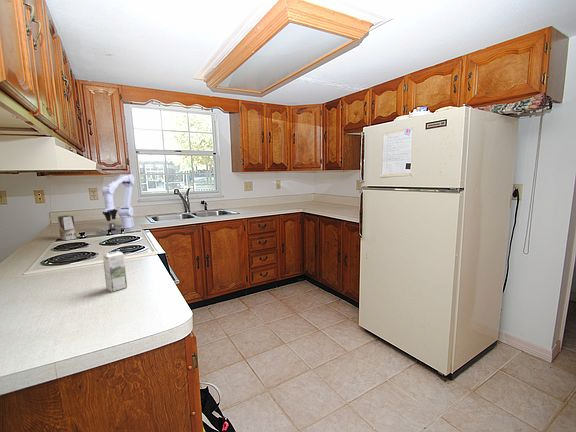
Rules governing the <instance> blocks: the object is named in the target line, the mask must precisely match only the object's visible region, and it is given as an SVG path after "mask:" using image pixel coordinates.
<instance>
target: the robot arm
mask: <svg viewBox="0 0 576 432" xmlns="http://www.w3.org/2000/svg"><path fill="white" fill-rule="evenodd" d="M120 184H122V185H123V186H125V188H124V195H123V203H122V204H121V206H120V207H119V209H117V207H116V206H115V203H114V202H115V201H114V194H115V191H116V189H118V188H119V187H120V186H119V185H120ZM134 184H135V177H134V175H133V174H132V173H131V174H119V175H118V177H117V179H115V181H110V183H109V184H107V185H106V186H103V187H102V188H101V193H102V196H103V198H104V206H105V208H103V212H102V214H103V215H104V216H105V219H106V222H111V220H116V219H117V217H116V216H117V213H118V215H119V217H120V218H121V227H120V228H122V229H131V228H133V227H136V224H135V223H134V218H133V215H134V207H133V206H131V202H132V197H133V189H134Z"/></svg>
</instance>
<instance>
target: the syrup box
mask: <svg viewBox="0 0 576 432" xmlns="http://www.w3.org/2000/svg"><path fill="white" fill-rule="evenodd" d="M102 260H103V268H104V269H103V270H104V276H105V277H104V278H105V287H106V289H107V290H108V291H110V292H111V293H113V292H117V291H120V290H124V289H127V288H128V281H127V280H128V279H127V271H126V264H125V263H126V261H125V254H124V253H123V252H121V251H118V250H117V251H112V252H107V253H104V254H102Z"/></svg>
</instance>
